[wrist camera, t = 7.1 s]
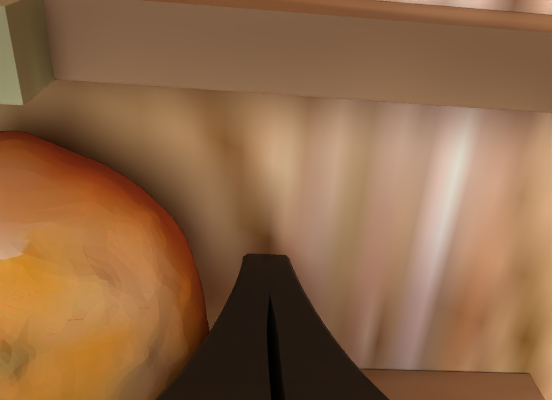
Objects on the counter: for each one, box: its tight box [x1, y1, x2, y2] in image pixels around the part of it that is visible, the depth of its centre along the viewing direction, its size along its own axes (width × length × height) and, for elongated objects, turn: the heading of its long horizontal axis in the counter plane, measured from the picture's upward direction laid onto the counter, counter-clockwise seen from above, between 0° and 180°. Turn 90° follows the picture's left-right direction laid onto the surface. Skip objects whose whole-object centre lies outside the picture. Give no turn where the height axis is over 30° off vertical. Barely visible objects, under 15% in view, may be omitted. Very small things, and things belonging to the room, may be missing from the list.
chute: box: [0, 0, 552, 400], centre depth 13 cm, size 14×23×4 cm, turn 85°
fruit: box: [0, 131, 210, 400], centre depth 12 cm, size 8×8×8 cm
